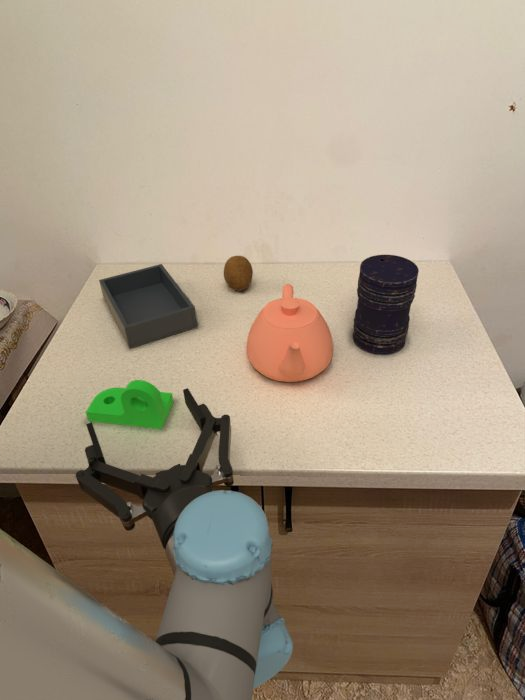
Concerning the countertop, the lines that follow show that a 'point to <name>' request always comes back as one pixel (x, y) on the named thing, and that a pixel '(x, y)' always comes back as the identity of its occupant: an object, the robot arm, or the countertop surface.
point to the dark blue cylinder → (384, 303)
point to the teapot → (289, 339)
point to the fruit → (238, 273)
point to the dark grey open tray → (148, 305)
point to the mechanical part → (132, 406)
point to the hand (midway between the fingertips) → (140, 412)
